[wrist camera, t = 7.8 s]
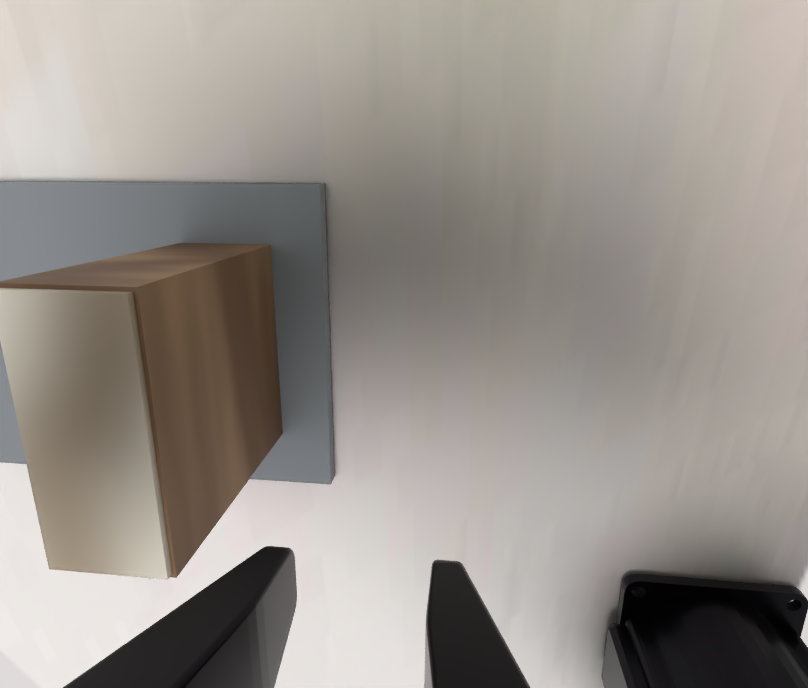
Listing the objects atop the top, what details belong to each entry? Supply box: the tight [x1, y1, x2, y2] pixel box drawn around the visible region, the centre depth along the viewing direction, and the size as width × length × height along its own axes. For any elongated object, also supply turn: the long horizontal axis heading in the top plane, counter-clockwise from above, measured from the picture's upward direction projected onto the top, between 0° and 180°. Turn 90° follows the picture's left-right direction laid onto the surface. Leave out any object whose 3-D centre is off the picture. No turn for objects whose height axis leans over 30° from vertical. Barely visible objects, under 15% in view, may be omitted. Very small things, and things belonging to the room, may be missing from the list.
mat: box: [0, 181, 335, 484], centre depth 20 cm, size 14×11×1 cm
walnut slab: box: [0, 243, 283, 580], centre depth 16 cm, size 3×7×8 cm, turn 0°
